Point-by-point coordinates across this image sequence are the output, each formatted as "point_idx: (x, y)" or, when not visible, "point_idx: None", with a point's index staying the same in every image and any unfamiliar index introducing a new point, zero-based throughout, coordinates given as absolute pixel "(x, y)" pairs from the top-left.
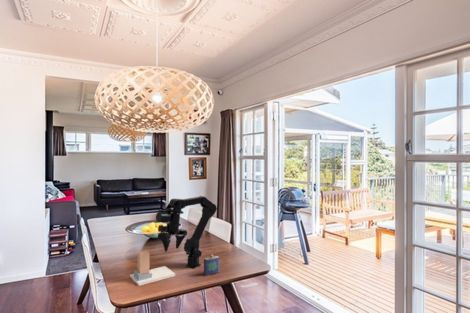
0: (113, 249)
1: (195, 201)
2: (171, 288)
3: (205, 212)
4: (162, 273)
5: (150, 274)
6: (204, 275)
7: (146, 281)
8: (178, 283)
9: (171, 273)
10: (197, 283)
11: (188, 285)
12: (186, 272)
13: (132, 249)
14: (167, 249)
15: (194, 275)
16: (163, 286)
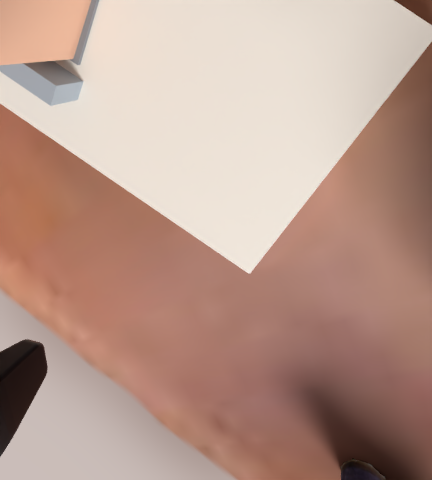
0: None
1: None
2: (74, 312)
3: None
4: (198, 150)
5: (39, 95)
6: (345, 462)
7: (2, 104)
8: (149, 330)
9: (237, 239)
10: (205, 433)
11: (157, 392)
12: (365, 332)
13: None
14: (7, 429)
15: (320, 402)
16: (64, 254)
